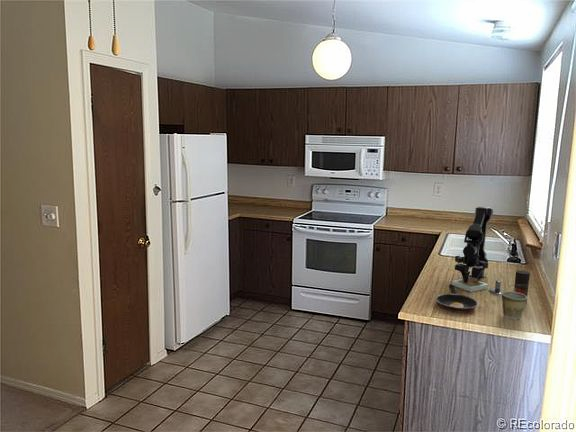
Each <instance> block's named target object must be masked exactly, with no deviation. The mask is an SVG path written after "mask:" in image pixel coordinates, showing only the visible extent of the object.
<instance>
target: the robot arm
mask: <svg viewBox="0 0 576 432" xmlns="http://www.w3.org/2000/svg"><path fill="white" fill-rule="evenodd" d="M474 215H475V216H474V220H473V222H472V225H469V227H468V229H467V230H466V231H465V237H464V240H463V243H465V244H466V246H464V248H463V249H462V253H463V256H461V255H455V257H454V261H455V262H456V263H457V264H455V265H454V271H457V272H459V273H460V274H461V277H462V279H463V280H464V283H467V280H468V278H471V277H473V278H477V280H481V279H486V278H487V277H486V276H485V269H488V268H489V260H488V258H487V253H486V251H485V245H486V238H487V237H486V236H487V228H488V224H489V222H490V221H491V219H492V217H493V215H494V209H493V208H492V207H488V206H478V207H475V211H474ZM470 269H471V271H470ZM470 274H471V275H470Z"/></svg>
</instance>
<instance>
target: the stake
mask: <svg viewBox="0 0 576 432" xmlns="http://www.w3.org/2000/svg"><path fill="white" fill-rule="evenodd" d="M501 283H502V282H501V280H495V284H494V288H490V289H488V293H490V294H493V295H498V296H499V295H500V296H502V293H503V292H506V291H504V290H503V289H501V285H502V284H501Z"/></svg>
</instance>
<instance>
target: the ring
mask: <svg viewBox="0 0 576 432" xmlns="http://www.w3.org/2000/svg"><path fill="white" fill-rule="evenodd" d="M461 279H462V280H463V278H461ZM479 281H480V279H477V278H473V277H468V280H467V283H464V280H463V284H465V285H467V286H473V285H475V286H479V285H480V283H479Z"/></svg>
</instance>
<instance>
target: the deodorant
mask: <svg viewBox="0 0 576 432" xmlns="http://www.w3.org/2000/svg"><path fill="white" fill-rule="evenodd" d="M530 276H531V273H530V271H528V270H523V269H521V270H520V269H519V270H515V277H514V286H513V292H518V293H521V294H524V295H526V296H527V297H528V295H529V294H528V292H529V285H530ZM527 302H528V299H527V300H526V304H527Z"/></svg>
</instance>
